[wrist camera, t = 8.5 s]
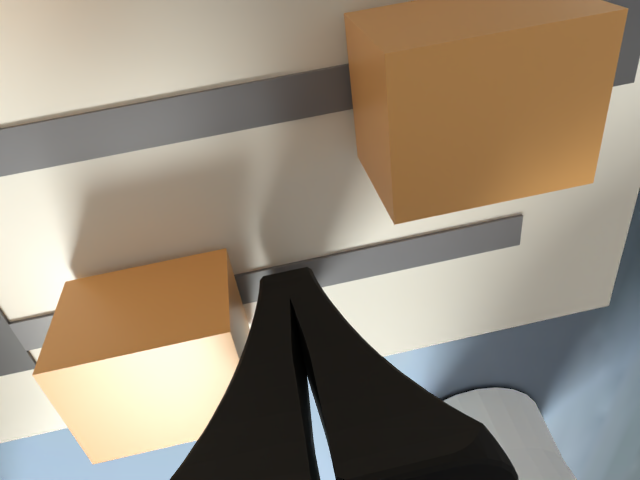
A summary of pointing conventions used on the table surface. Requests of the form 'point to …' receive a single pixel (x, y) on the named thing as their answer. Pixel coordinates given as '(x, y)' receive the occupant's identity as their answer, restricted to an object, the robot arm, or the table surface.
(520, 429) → the cup
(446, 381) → the table surface
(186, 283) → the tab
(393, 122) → the tab middle
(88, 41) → the switch board
